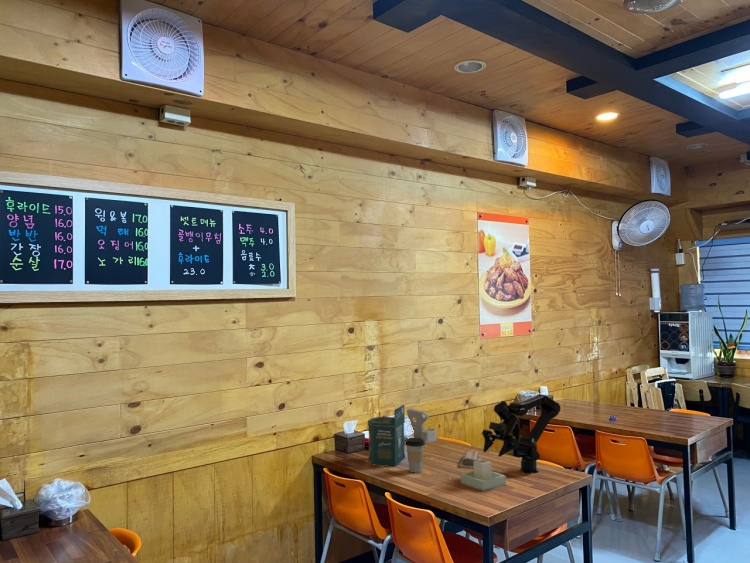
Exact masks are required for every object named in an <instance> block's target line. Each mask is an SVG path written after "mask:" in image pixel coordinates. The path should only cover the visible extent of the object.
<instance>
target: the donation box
mask: <svg viewBox="0 0 750 563" xmlns="http://www.w3.org/2000/svg"><path fill="white" fill-rule="evenodd" d="M393 412H394V413H393V414H394V417H393V416H379V417H377V416H376V417H372V418H370V419H369V420H367V426H368V461H367V462H368V463H369V464H372V465H373V464H375V466H382V465H388V466H387V467H393V466H396V467H397V466H398V465H399V464H400V463H402V462H403V461H404V460H405V459H406V453H405V420H406V419H405V404H402V405H401V406H399V407H397V408H395V409H394V411H393ZM402 460H403V461H402ZM401 461H402V462H401Z"/></svg>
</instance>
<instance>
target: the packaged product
mask: <svg viewBox="0 0 750 563" xmlns="http://www.w3.org/2000/svg"><path fill="white" fill-rule="evenodd" d="M481 459H483V458H482V457H481V456H480V457H479V451H478V450H477V451H476V450H466V451H465V453H464V455H462V456H461V459H460V461H459V464H458V467H459V468H460V469H474V462H473V461H477V460H481Z"/></svg>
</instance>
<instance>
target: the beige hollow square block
mask: <svg viewBox="0 0 750 563" xmlns="http://www.w3.org/2000/svg"><path fill="white" fill-rule="evenodd" d="M473 462H474V468H473V471H474V478H477V479H480V480H487V479H491V478H492V472H493V471H492V469H493V468H492V467H493V466H492V465H493V464H492V461H489V460H486V459H483V458H481V460H477V461H473Z"/></svg>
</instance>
